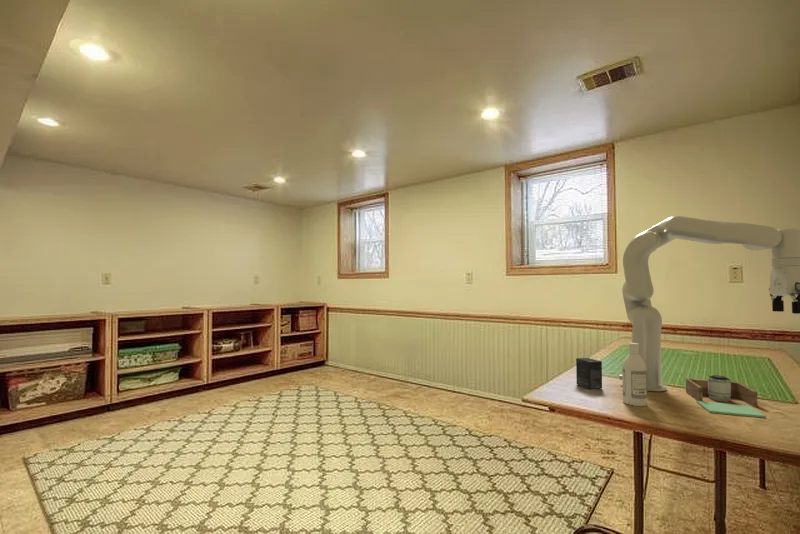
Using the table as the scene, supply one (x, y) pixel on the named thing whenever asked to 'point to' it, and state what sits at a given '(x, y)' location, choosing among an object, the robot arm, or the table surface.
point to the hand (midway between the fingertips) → (787, 312)
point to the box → (589, 373)
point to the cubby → (737, 390)
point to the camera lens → (719, 388)
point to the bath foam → (634, 378)
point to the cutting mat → (730, 409)
